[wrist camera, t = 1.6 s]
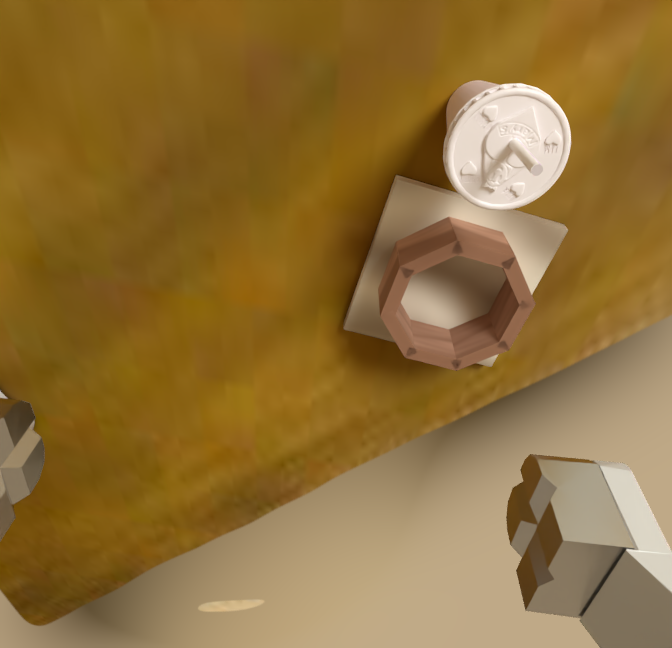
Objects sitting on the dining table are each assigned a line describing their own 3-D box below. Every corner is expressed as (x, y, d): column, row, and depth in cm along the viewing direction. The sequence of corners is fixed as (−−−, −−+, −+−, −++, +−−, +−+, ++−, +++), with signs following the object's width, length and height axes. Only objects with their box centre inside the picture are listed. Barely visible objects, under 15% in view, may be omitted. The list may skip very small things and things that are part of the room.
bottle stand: (488, 359, 48) (501, 398, 43) (343, 322, 46) (342, 358, 42) (563, 224, 41) (587, 254, 36) (395, 174, 39) (401, 200, 35)
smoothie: (543, 80, 35) (636, 139, 24) (493, 172, 39) (553, 264, 27) (452, 40, 34) (503, 82, 23) (409, 139, 38) (433, 220, 26)
